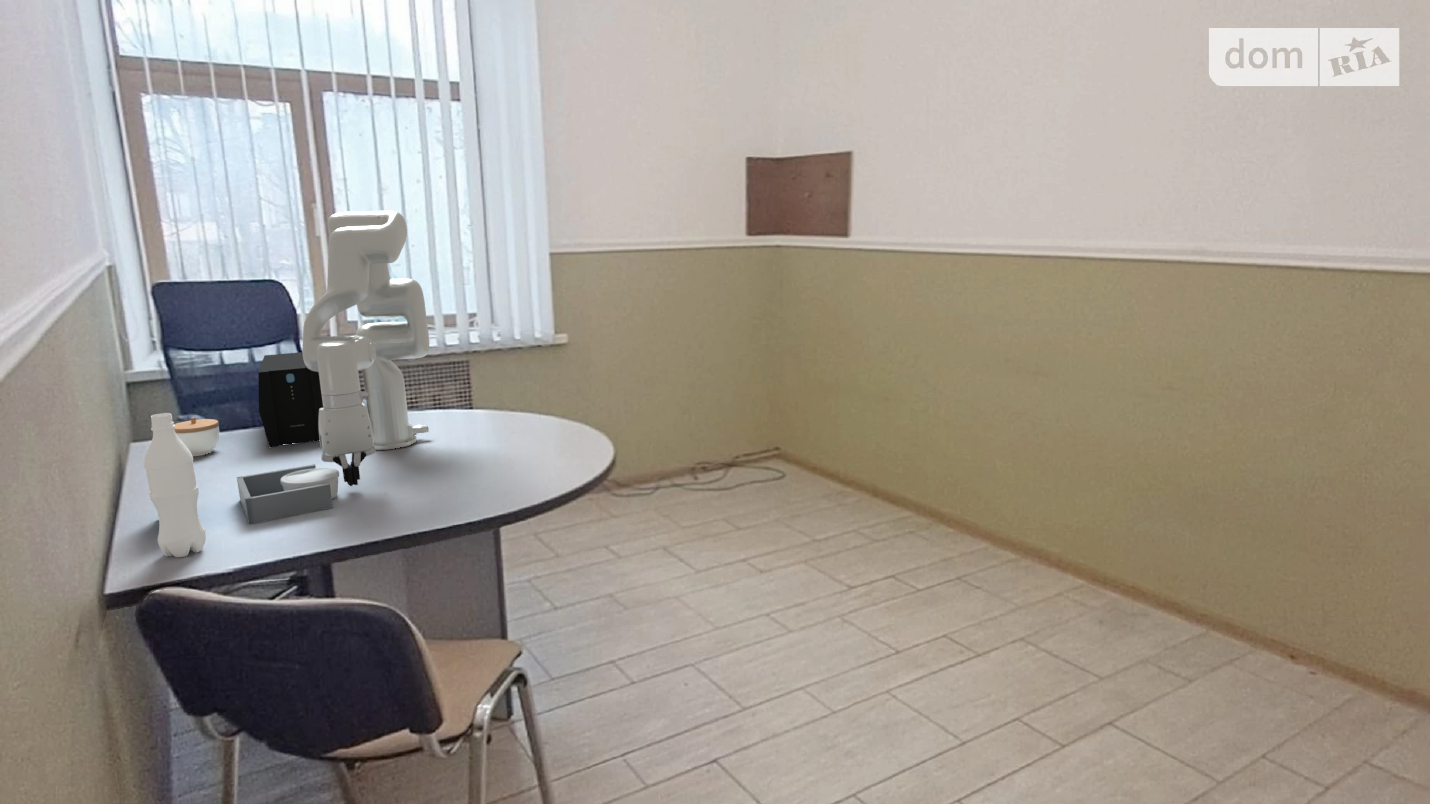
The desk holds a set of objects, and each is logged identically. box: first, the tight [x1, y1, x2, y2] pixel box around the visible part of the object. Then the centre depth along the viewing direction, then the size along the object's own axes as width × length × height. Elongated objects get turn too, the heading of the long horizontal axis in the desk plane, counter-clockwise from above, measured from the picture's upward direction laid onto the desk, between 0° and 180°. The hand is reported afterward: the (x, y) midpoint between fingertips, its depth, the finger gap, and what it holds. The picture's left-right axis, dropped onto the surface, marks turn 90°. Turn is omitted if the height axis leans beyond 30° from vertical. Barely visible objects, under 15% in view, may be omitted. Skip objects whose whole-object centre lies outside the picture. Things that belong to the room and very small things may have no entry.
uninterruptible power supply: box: [257, 351, 323, 448], centre depth 235 cm, size 16×34×20 cm, turn 25°
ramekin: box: [280, 467, 340, 500], centre depth 176 cm, size 11×11×5 cm
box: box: [236, 464, 334, 525], centre depth 173 cm, size 15×18×5 cm
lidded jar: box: [173, 416, 220, 457], centre depth 214 cm, size 11×11×9 cm
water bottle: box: [143, 412, 207, 558], centre depth 146 cm, size 7×7×25 cm
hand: (352, 483), depth 180 cm, fingers closed
